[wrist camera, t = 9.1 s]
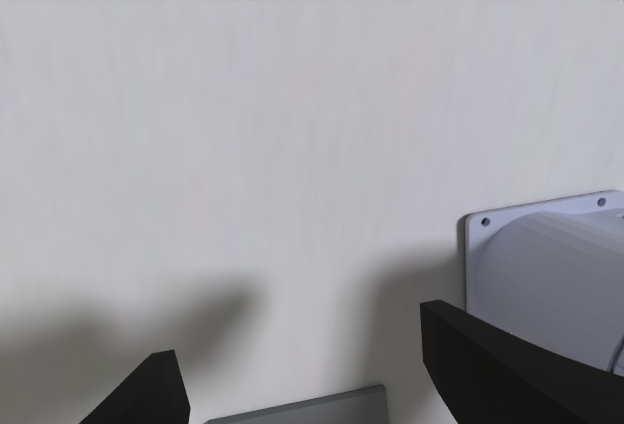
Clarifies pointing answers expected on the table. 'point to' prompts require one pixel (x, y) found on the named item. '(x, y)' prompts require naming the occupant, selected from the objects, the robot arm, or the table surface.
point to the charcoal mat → (322, 410)
